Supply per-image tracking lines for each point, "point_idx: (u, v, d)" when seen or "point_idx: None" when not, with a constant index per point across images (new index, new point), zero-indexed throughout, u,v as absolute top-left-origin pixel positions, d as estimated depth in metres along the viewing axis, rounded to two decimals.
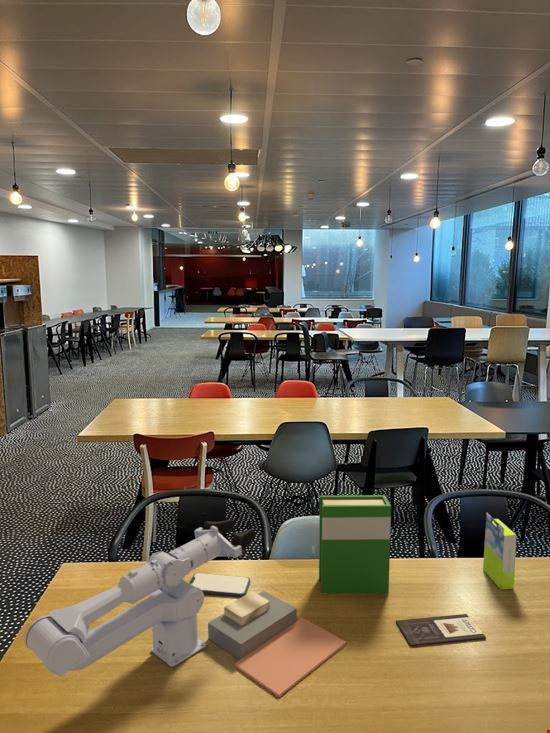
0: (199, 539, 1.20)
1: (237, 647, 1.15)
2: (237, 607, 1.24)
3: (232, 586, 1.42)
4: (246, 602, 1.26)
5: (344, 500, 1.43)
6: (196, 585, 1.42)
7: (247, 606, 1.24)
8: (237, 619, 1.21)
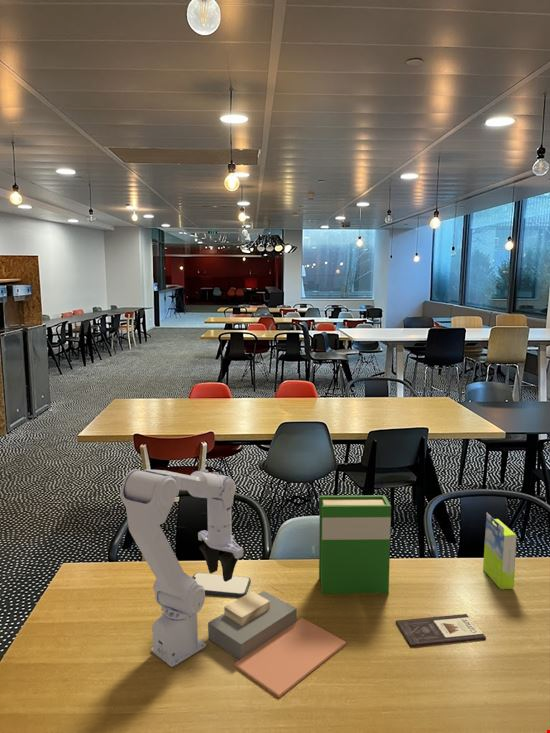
0: None
1: (237, 647, 1.15)
2: (237, 607, 1.24)
3: (232, 586, 1.42)
4: (246, 602, 1.26)
5: (344, 500, 1.43)
6: None
7: (247, 606, 1.24)
8: (237, 619, 1.21)
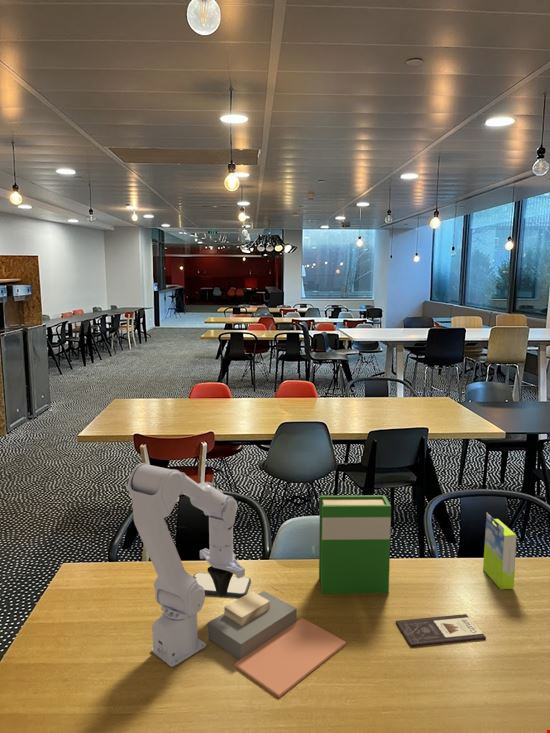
0: None
1: (237, 647, 1.15)
2: (237, 607, 1.24)
3: (232, 586, 1.42)
4: (246, 602, 1.26)
5: (344, 500, 1.43)
6: None
7: (247, 606, 1.24)
8: (237, 619, 1.21)
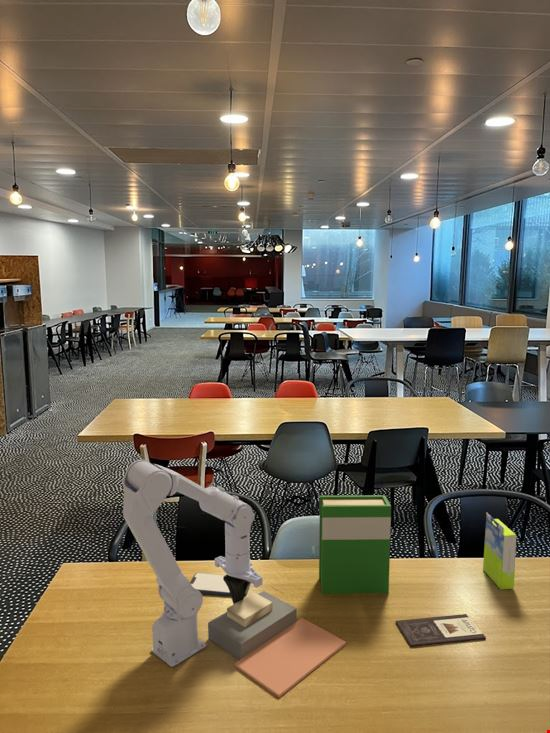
0: None
1: (237, 647, 1.15)
2: (240, 608, 1.23)
3: None
4: (249, 603, 1.25)
5: (344, 500, 1.43)
6: (197, 585, 1.42)
7: (250, 607, 1.24)
8: (240, 620, 1.21)
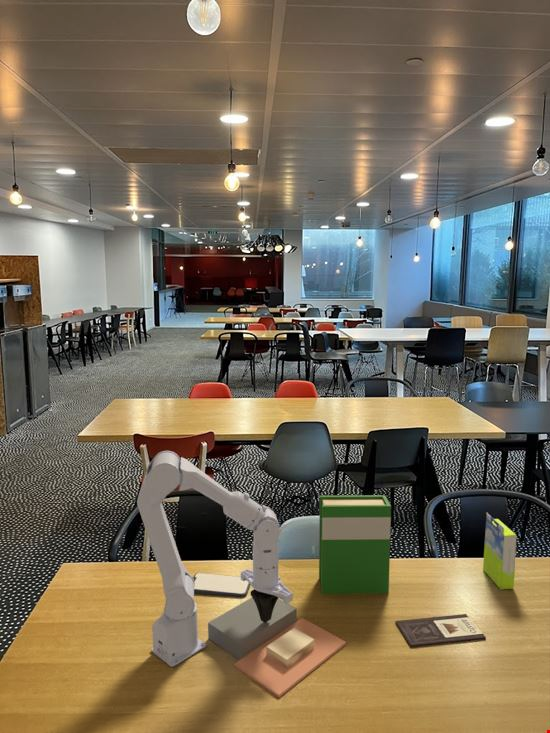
0: None
1: (237, 647, 1.15)
2: None
3: (233, 586, 1.42)
4: None
5: (344, 500, 1.43)
6: (197, 585, 1.42)
7: None
8: (271, 653, 1.14)
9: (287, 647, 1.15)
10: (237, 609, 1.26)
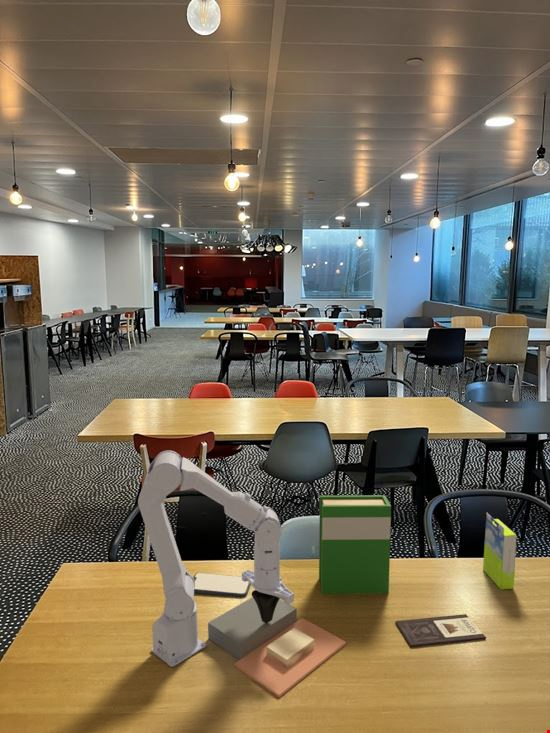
0: None
1: (237, 647, 1.15)
2: None
3: (233, 586, 1.42)
4: None
5: (344, 500, 1.43)
6: (197, 585, 1.42)
7: None
8: (271, 653, 1.14)
9: (287, 647, 1.15)
10: (237, 609, 1.26)
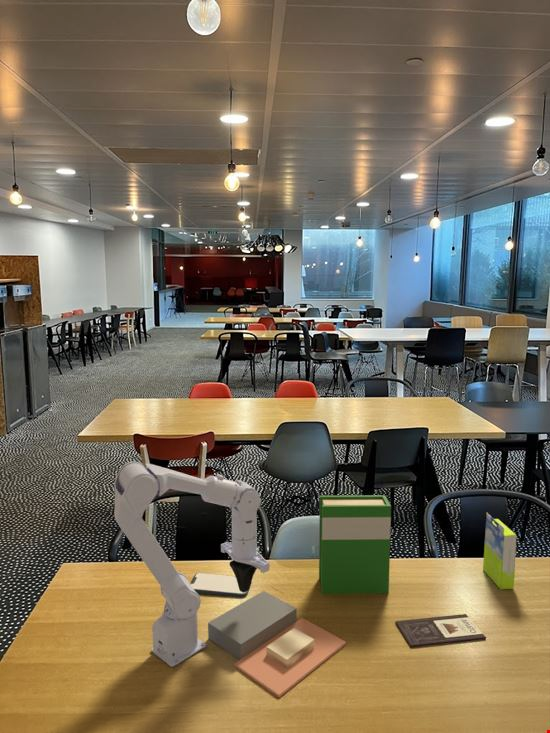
0: None
1: (237, 647, 1.15)
2: None
3: (233, 586, 1.42)
4: None
5: (344, 500, 1.43)
6: (197, 585, 1.42)
7: None
8: (271, 653, 1.14)
9: (287, 647, 1.15)
10: (237, 609, 1.26)
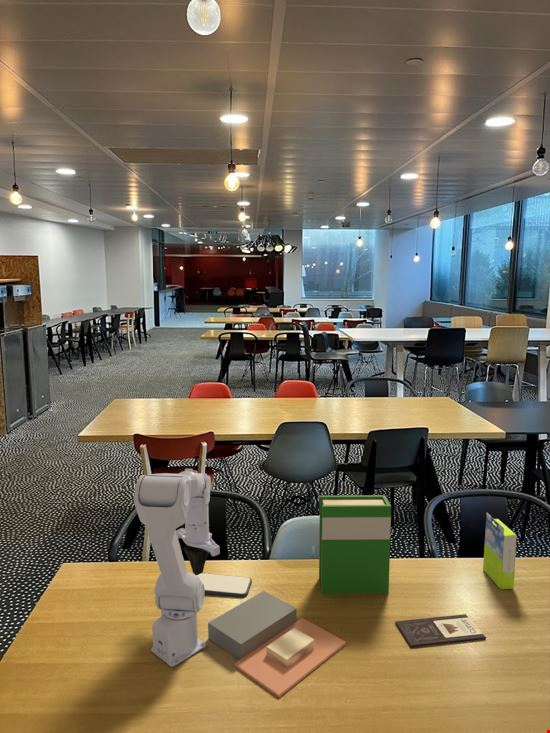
0: None
1: (237, 647, 1.15)
2: None
3: (234, 586, 1.42)
4: None
5: (344, 500, 1.43)
6: None
7: None
8: (271, 653, 1.14)
9: (287, 647, 1.15)
10: (237, 609, 1.26)
